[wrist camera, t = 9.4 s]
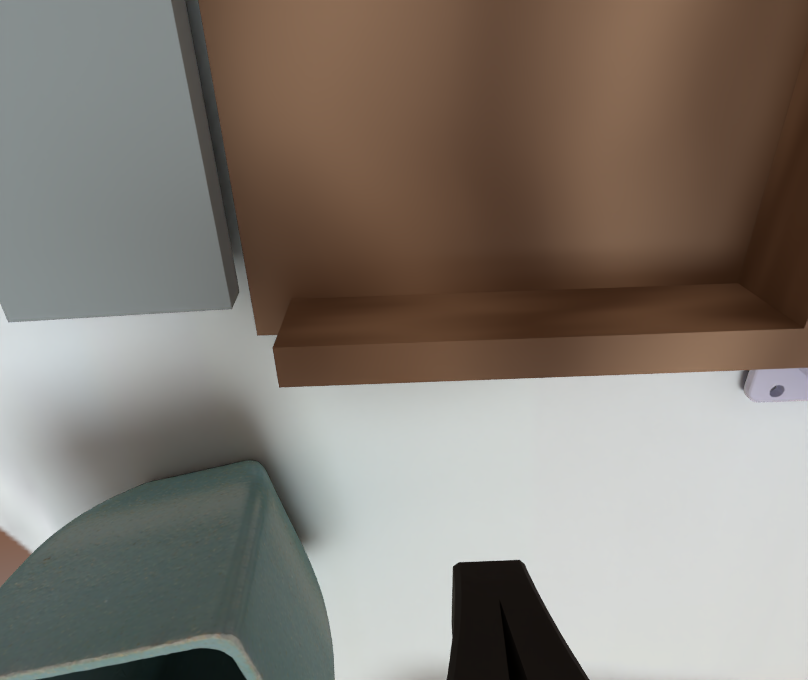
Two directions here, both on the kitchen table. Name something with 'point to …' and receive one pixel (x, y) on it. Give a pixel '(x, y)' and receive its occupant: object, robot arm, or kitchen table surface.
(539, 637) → the robot arm
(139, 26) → the panel
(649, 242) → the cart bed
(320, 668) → the flower pot
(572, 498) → the kitchen table surface
